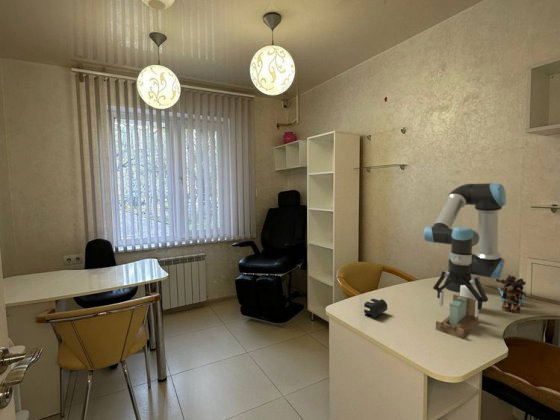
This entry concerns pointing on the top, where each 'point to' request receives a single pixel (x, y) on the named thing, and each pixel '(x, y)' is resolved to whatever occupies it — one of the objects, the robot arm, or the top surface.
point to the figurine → (512, 293)
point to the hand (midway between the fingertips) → (458, 310)
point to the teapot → (519, 299)
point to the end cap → (375, 308)
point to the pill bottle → (468, 291)
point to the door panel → (457, 311)
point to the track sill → (465, 324)
